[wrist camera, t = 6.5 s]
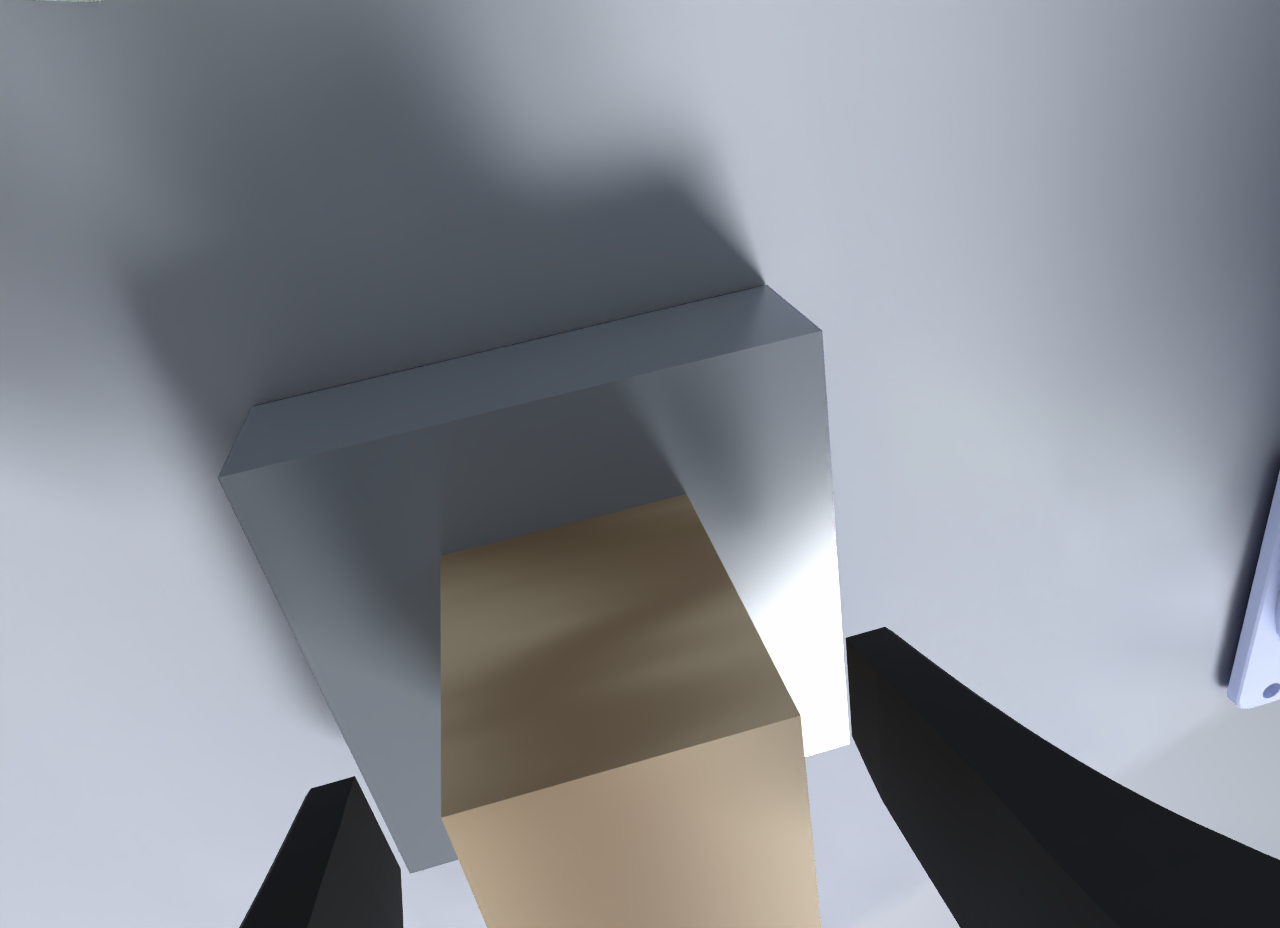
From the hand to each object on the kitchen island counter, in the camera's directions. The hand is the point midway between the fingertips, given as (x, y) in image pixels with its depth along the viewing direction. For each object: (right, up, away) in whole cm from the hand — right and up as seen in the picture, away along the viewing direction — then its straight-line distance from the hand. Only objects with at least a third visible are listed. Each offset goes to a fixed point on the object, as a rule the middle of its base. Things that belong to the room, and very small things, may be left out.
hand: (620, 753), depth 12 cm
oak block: (-1, +1, +2) cm, 3 cm away
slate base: (-1, +2, +5) cm, 5 cm away
